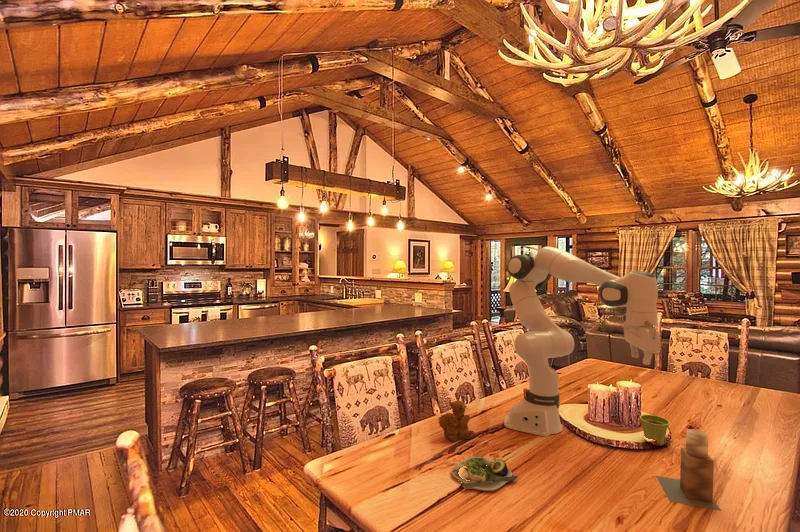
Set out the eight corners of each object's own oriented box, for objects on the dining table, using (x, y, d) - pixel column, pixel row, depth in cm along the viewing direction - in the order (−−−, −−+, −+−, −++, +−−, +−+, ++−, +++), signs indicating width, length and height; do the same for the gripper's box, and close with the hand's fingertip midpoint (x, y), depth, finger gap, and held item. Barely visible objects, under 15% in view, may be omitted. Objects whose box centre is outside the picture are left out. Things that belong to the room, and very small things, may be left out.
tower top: (687, 478, 113) (688, 457, 113) (680, 467, 118) (681, 447, 118) (713, 482, 111) (713, 460, 111) (704, 471, 116) (705, 450, 116)
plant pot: (674, 449, 143) (674, 425, 143) (645, 447, 145) (645, 423, 145) (662, 438, 152) (663, 415, 152) (635, 435, 154) (636, 413, 154)
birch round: (686, 454, 114) (687, 434, 114) (685, 448, 118) (686, 427, 118) (708, 459, 111) (709, 438, 111) (706, 452, 115) (707, 432, 115)
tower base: (687, 498, 113) (687, 478, 113) (680, 487, 119) (680, 467, 118) (712, 503, 111) (713, 482, 111) (704, 491, 117) (704, 471, 116)
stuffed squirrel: (477, 435, 153) (477, 401, 152) (455, 447, 143) (455, 411, 143) (456, 427, 160) (456, 395, 160) (433, 438, 150) (434, 403, 150)
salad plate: (486, 506, 110) (486, 489, 110) (438, 479, 123) (438, 464, 123) (523, 479, 123) (523, 465, 123) (475, 458, 136) (476, 444, 136)
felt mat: (669, 502, 112) (669, 501, 112) (655, 476, 125) (655, 475, 125) (721, 512, 108) (721, 510, 108) (701, 484, 121) (701, 483, 121)
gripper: (666, 325, 122) (665, 369, 123) (639, 315, 143) (638, 354, 143) (643, 324, 124) (642, 368, 124) (620, 315, 144) (619, 353, 144)
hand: (640, 360), depth 134 cm, fingers open, 8 cm apart
